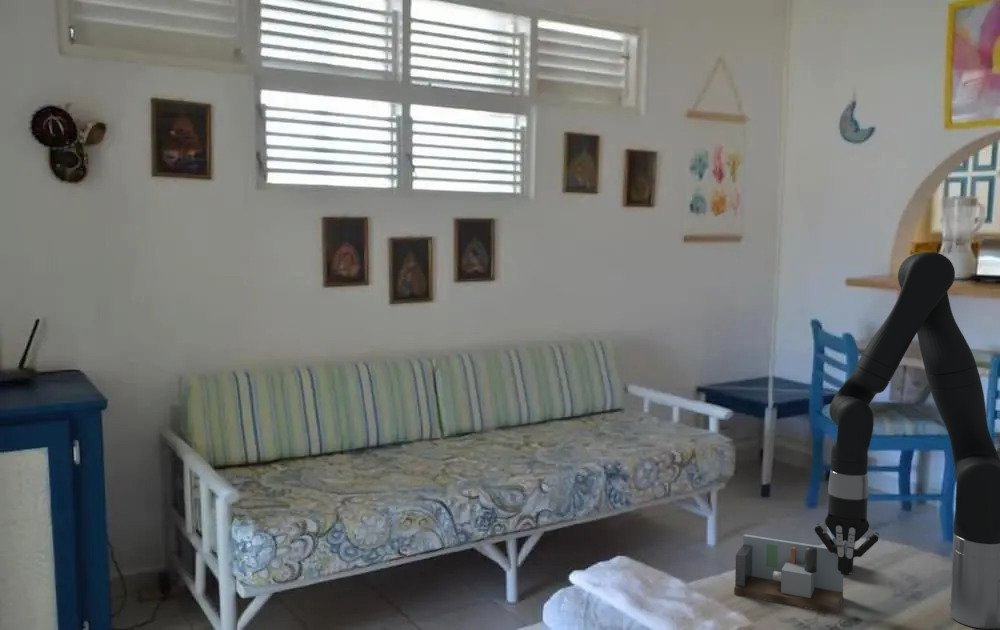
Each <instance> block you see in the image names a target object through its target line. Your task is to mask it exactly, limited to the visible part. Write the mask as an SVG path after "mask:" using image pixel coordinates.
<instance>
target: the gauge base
mask: <svg viewBox="0 0 1000 630" xmlns="http://www.w3.org/2000/svg"><path fill="white" fill-rule="evenodd" d="M733 589H734V590H733V592H734V593H733V595H735V596H737V595H738V596H743V597H747V598H753V599H759V600H764V601H768V602H774V603H780V604H784V605H791V606H795V607H800V608H805V607H807V608H806V609H810V608H812V610H815V609H817V611H820V612H821V611H822V612H826V611H827V613H831V612H834V613H833V614H838V613H839V609H840V607H841V604H842V602H843V601H842V600H843V599H842V598H844V591H843V592H838V591H832V590H827V589H821V588H816V587H814V591H813V594H812V596H811V598H807V597H801V596H796V595H790V594H785V593H781V582H780V581H774V580H770V579H765V578H759V577H754V576H752V577H751V578H750V580H749V582H748V583H747V585H746V586H745V588H744V587H738V586H735V585H734V588H733Z"/></svg>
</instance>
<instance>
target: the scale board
mask: <svg viewBox="0 0 1000 630" xmlns="http://www.w3.org/2000/svg"><path fill="white" fill-rule="evenodd" d="M742 543H743V545H749V546H752V576H754V577H759V578H765V579H770V580H773V573H774V571H778V572H781V570H782V568H783V566H784V565H785V563H786V562H788V563H791V548H792V547H796V564H800V565H805V547H806V546H813V547H816V548H817V572H815V582H814V587H816V588H821V589H827V590H832V591H838V592H843V593H844V576H845V575H843V574H841V571H839V570H838V555H837V554H835V553H831V552H829V550H828V549H827V547H826V546H823V545H816V544H815V545H814V544H808V543H802V542H797V541H790V540H785V539H776V538H770V537H765V536H757V535H751V534H743V542H742ZM743 545H742V546H743Z"/></svg>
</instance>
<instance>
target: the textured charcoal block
mask: <svg viewBox="0 0 1000 630" xmlns="http://www.w3.org/2000/svg"><path fill="white" fill-rule="evenodd" d="M751 577H752V546H749V545H741V547H740V548H739V550H738V551H737V552H736V554H735V578H734V579H735V585H734V587H735V586H738V587H744V588H745V586H746V585H747V583H748V582H749V580H750V578H751Z"/></svg>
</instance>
